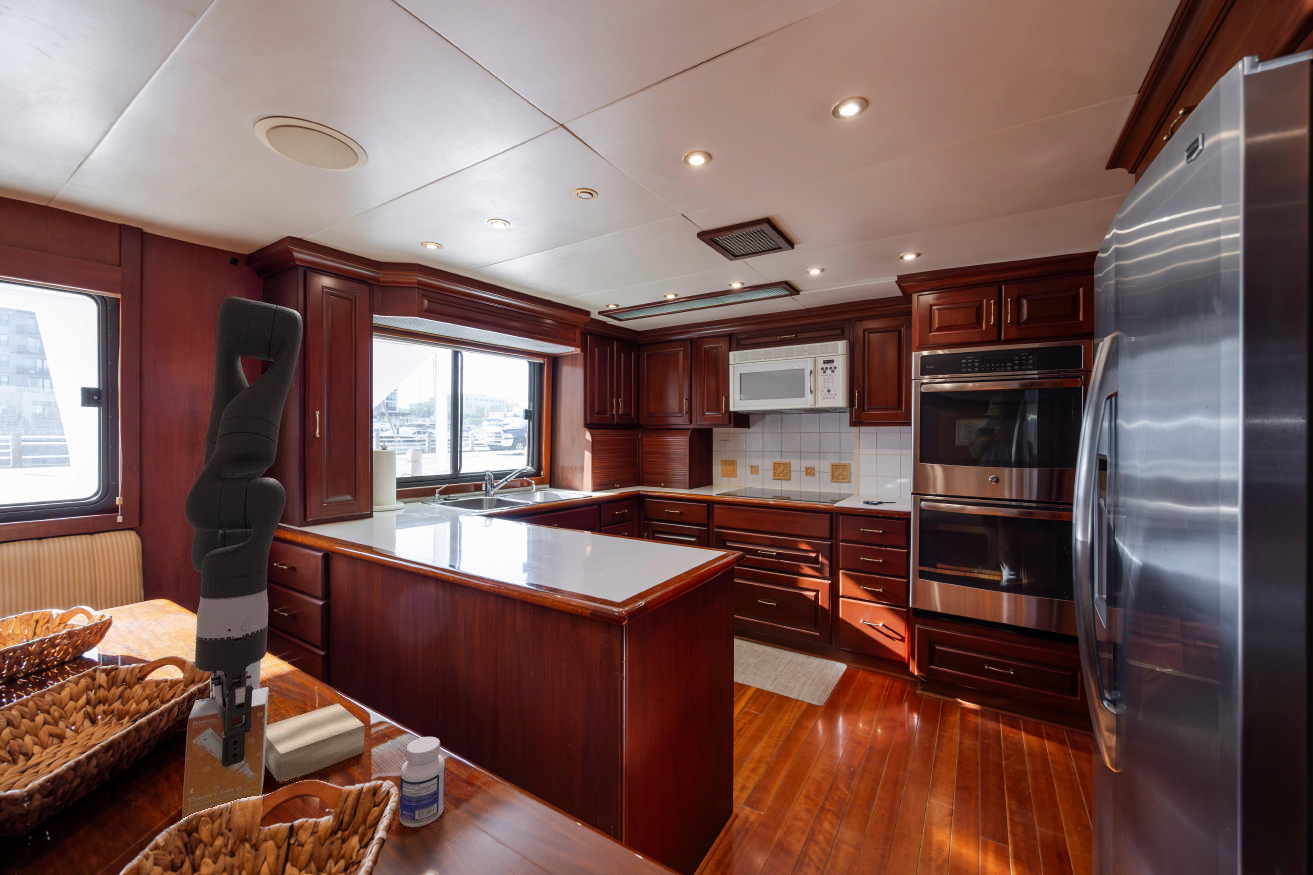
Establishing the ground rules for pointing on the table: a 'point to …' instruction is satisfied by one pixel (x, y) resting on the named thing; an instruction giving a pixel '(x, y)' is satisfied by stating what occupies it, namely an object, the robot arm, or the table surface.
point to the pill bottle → (422, 783)
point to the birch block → (312, 741)
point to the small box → (204, 757)
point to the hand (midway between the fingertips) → (227, 751)
